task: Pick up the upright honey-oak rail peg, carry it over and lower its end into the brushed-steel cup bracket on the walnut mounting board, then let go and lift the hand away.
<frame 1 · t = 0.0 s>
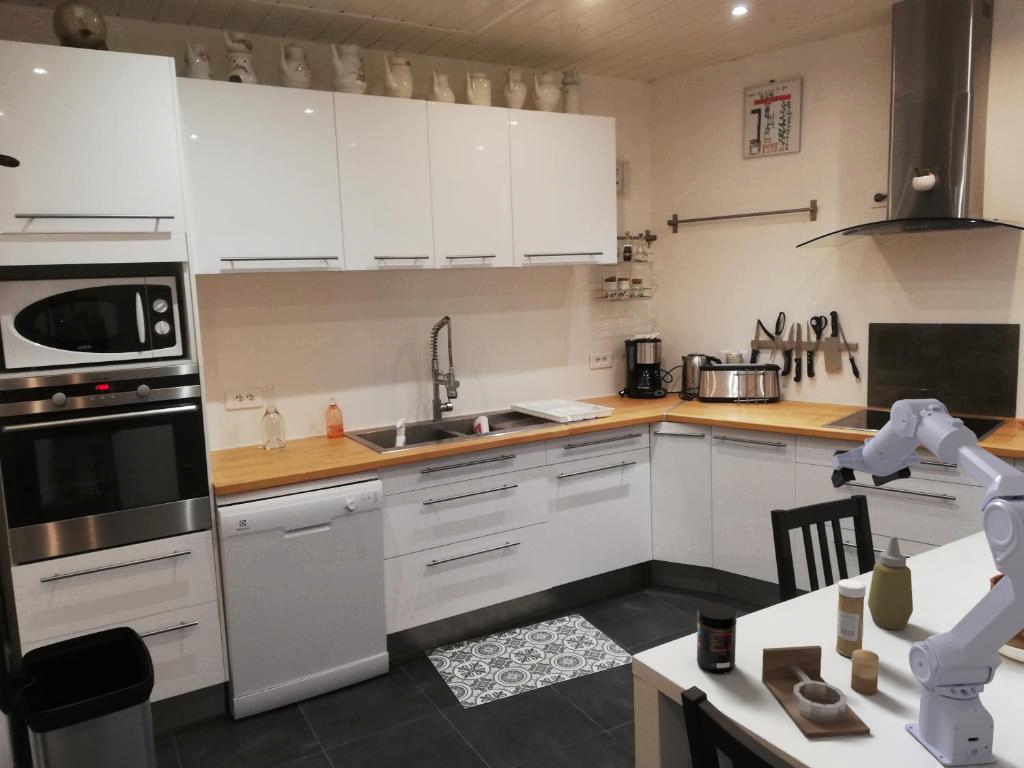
hand: (854, 481, 132), 32 cm above the table, tool tilted 50°, fingers open, 7 cm apart
oak rail peg: (863, 688, 123), on the table
cup bracket: (818, 713, 116), on the table
sprinkles bottle: (848, 653, 135), on the table
supplement container: (715, 666, 131), on the table
squeeze bottle: (889, 624, 146), on the table
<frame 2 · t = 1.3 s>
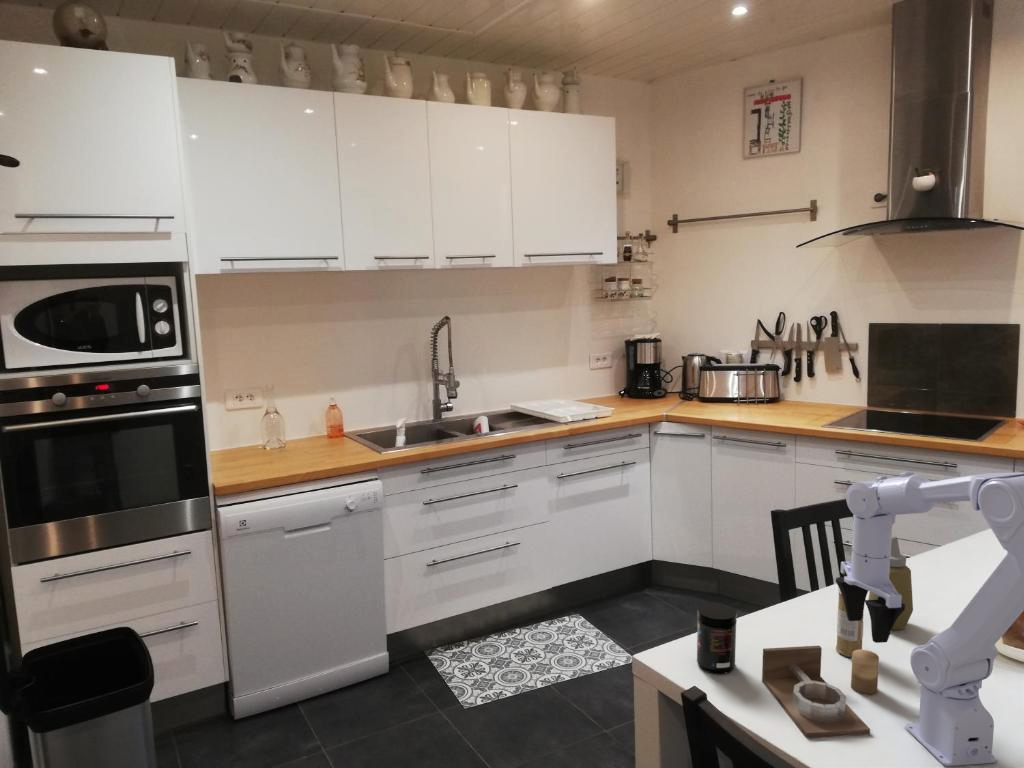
hand: (866, 630, 122), 10 cm above the table, tool pointing down, fingers open, 7 cm apart
nothing on the table moved.
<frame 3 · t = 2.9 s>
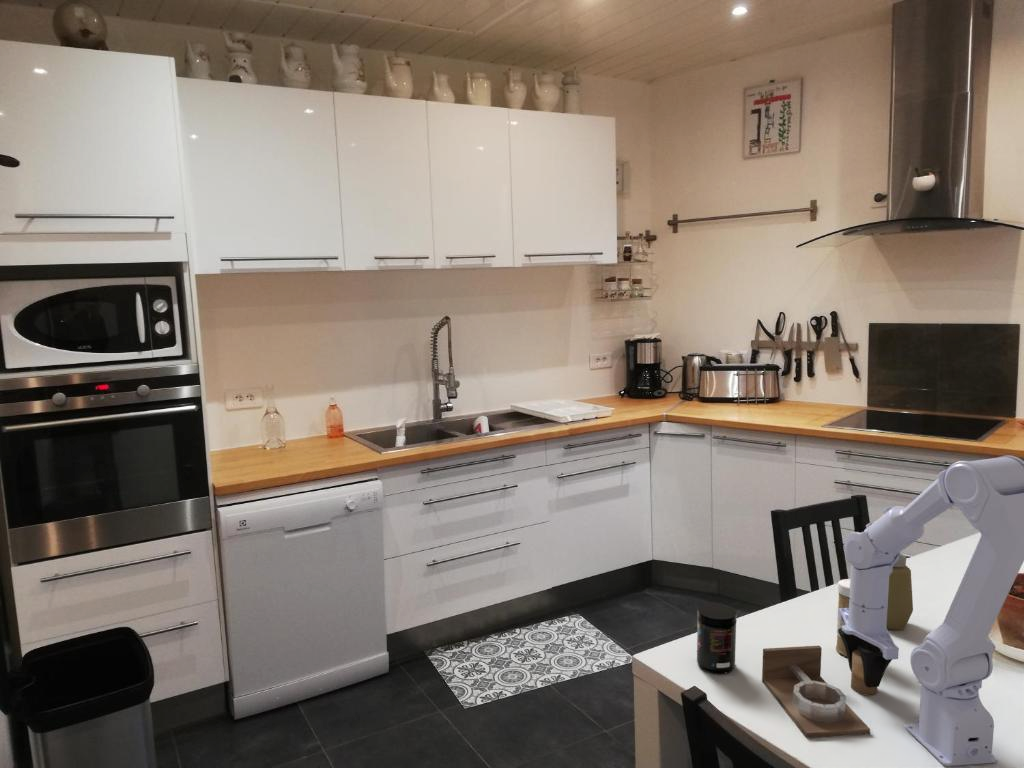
hand: (864, 678, 123), 2 cm above the table, tool pointing down, fingers closed on oak rail peg, 4 cm apart
oak rail peg: (863, 688, 123), on the table, touching gripper
everything else where it was.
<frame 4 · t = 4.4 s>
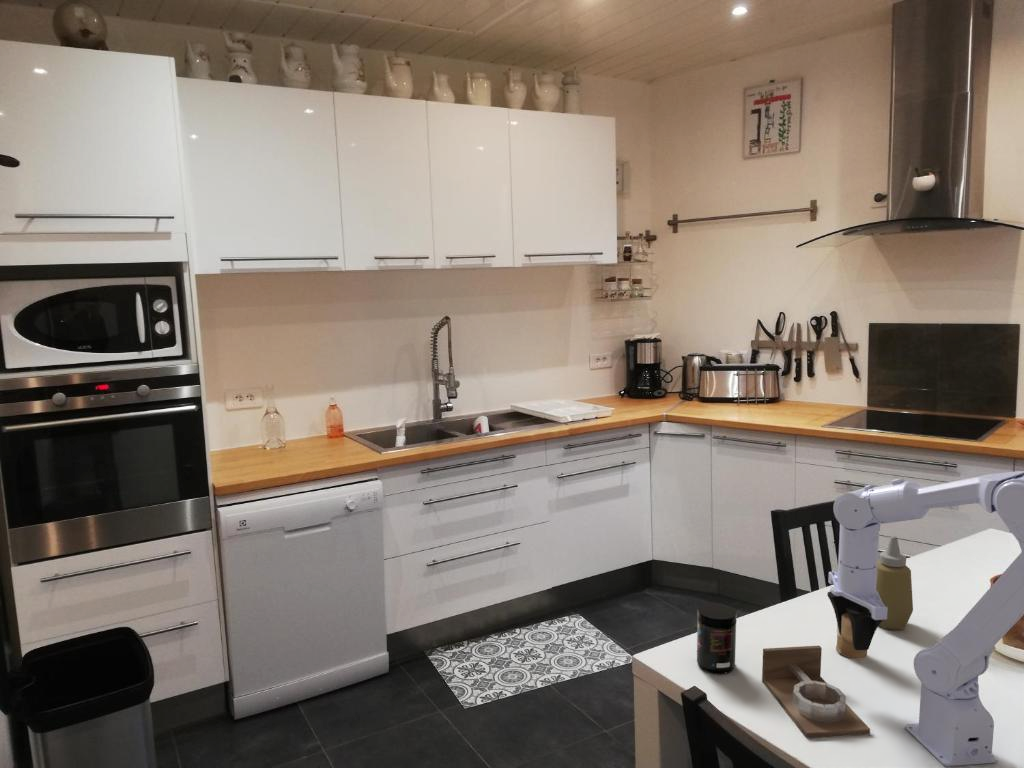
hand: (853, 642, 120), 9 cm above the table, tool pointing down, fingers closed on oak rail peg, 4 cm apart
oak rail peg: (853, 652, 120), point 8 cm above the table, touching gripper
everything else where it was.
when the fingers open (4 cm above the table, at t = 6.3 s): oak rail peg drops 2 cm, resting on cup bracket.
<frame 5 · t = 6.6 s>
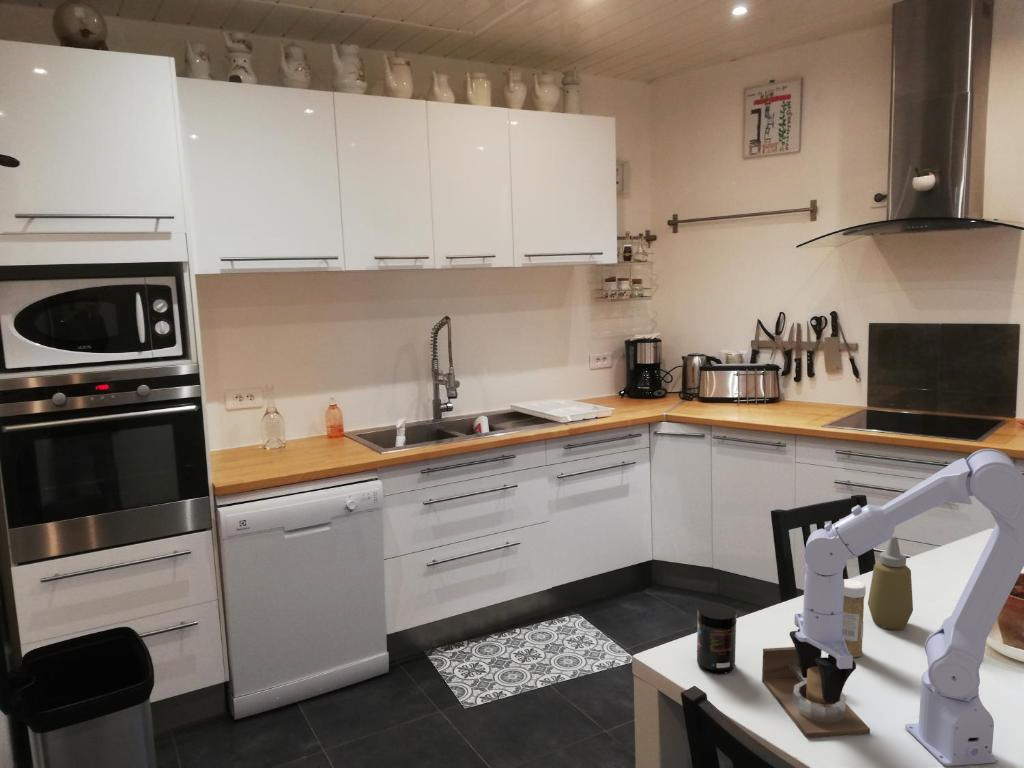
hand: (819, 688, 116), 4 cm above the table, tool pointing down, fingers open, 6 cm apart
oak rail peg: (819, 708, 116), point 1 cm above the table, touching cup bracket
everything else where it was.
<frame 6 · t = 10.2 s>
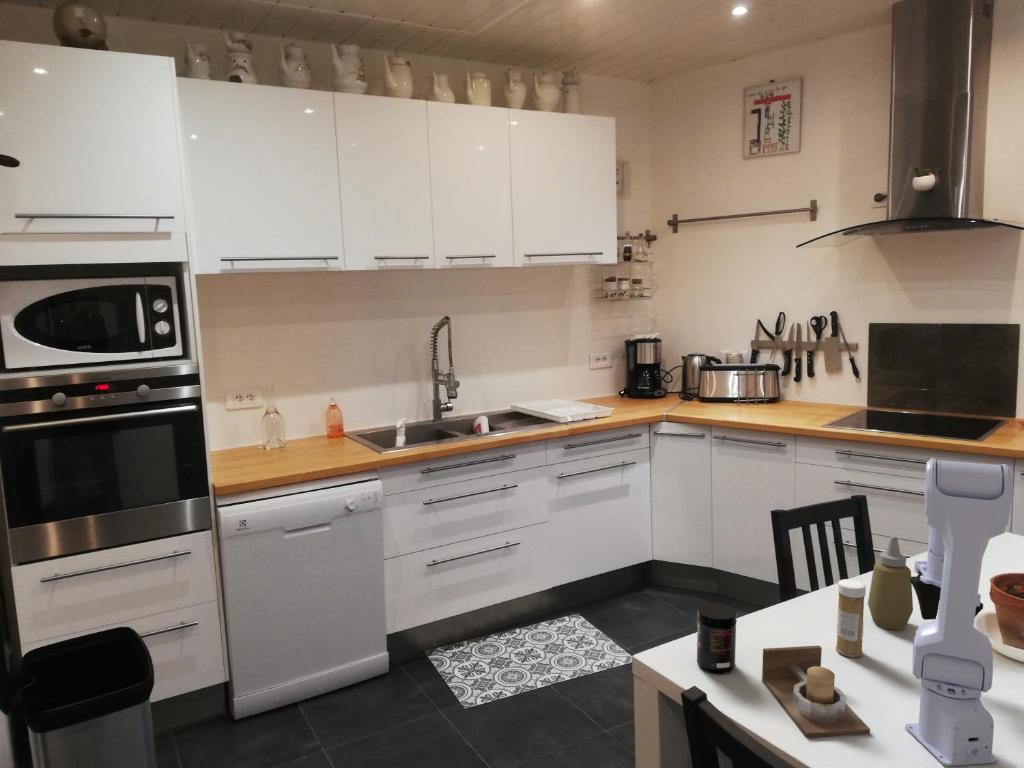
hand: (942, 628, 124), 9 cm above the table, tool pointing down, fingers open, 7 cm apart
nothing on the table moved.
at the end: oak rail peg 0.1 cm off-centre on the cup bracket, point 0.8 cm above the cup bracket's base; oak rail peg tilted 0°; the gripper is holding nothing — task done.
